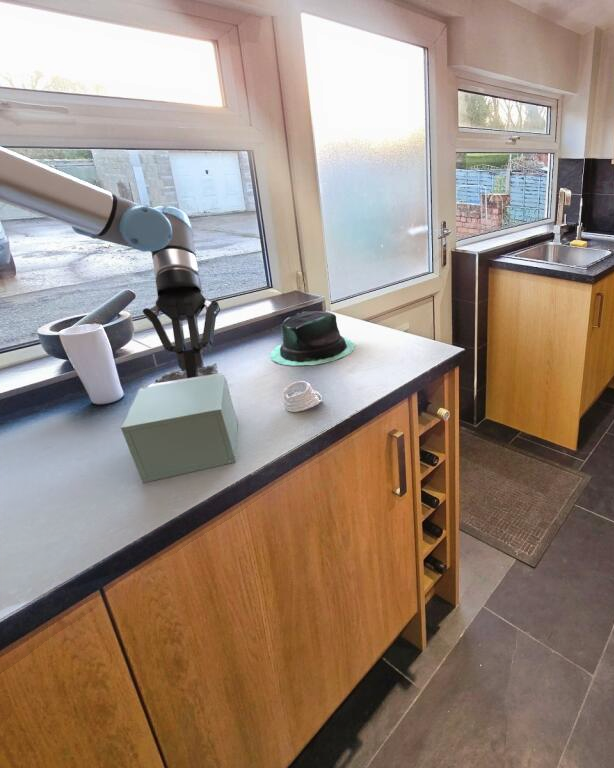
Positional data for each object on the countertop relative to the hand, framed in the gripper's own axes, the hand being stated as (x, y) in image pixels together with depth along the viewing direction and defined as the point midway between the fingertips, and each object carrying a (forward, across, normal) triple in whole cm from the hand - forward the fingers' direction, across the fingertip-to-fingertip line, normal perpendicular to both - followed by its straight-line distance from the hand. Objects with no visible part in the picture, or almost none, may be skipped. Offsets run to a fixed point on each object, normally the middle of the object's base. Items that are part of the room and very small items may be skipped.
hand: (194, 383), depth 93 cm
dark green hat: (-13, -23, -21) cm, 34 cm away
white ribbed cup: (+9, -18, 0) cm, 20 cm away
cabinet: (+15, 0, +7) cm, 16 cm away
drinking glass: (-6, +17, -14) cm, 23 cm away
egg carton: (-5, +3, -13) cm, 14 cm away
